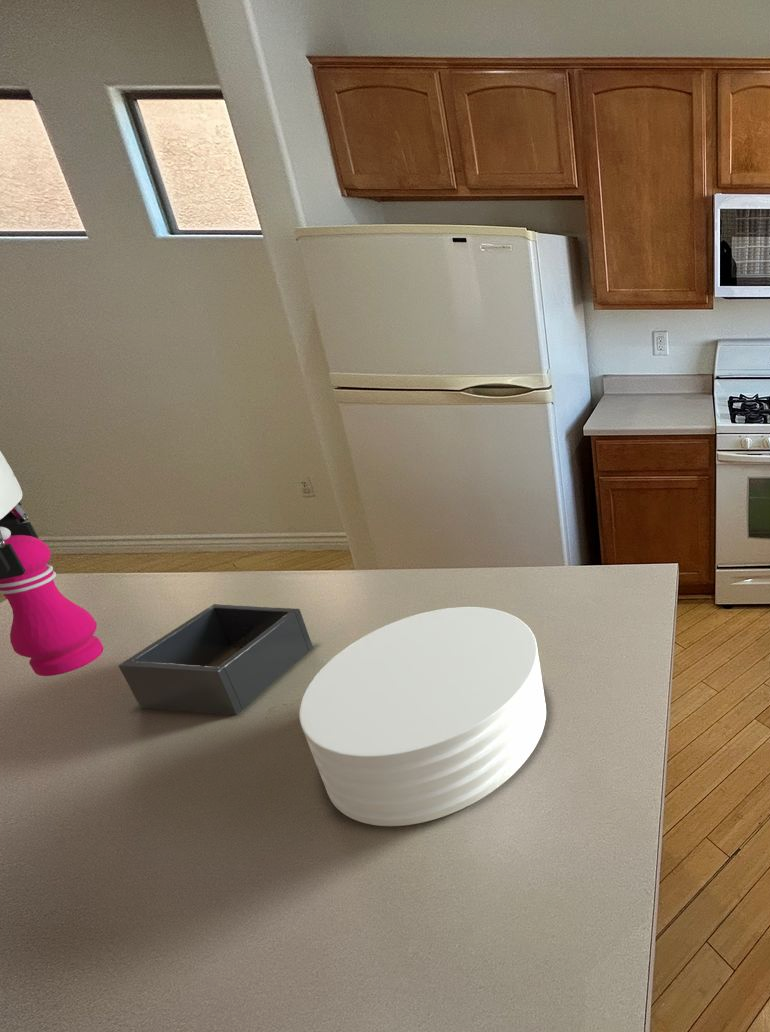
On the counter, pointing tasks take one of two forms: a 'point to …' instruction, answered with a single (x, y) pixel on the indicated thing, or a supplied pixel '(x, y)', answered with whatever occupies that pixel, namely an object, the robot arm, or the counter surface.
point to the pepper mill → (46, 614)
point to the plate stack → (425, 714)
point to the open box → (187, 649)
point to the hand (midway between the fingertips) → (15, 564)
